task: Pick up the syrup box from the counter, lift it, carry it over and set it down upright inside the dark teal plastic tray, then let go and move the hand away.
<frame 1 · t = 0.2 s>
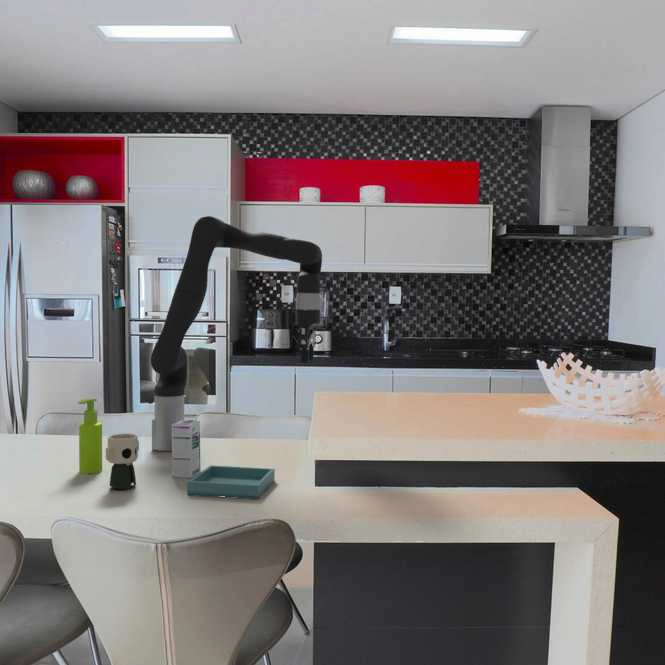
hand: (307, 361, 191), 29 cm above the table, tool pointing down, fingers open, 8 cm apart
teal tray: (232, 487, 157), on the table
character mug: (122, 488, 157), on the table
soap dispenser: (89, 472, 171), on the table
syrup box: (186, 475, 169), on the table
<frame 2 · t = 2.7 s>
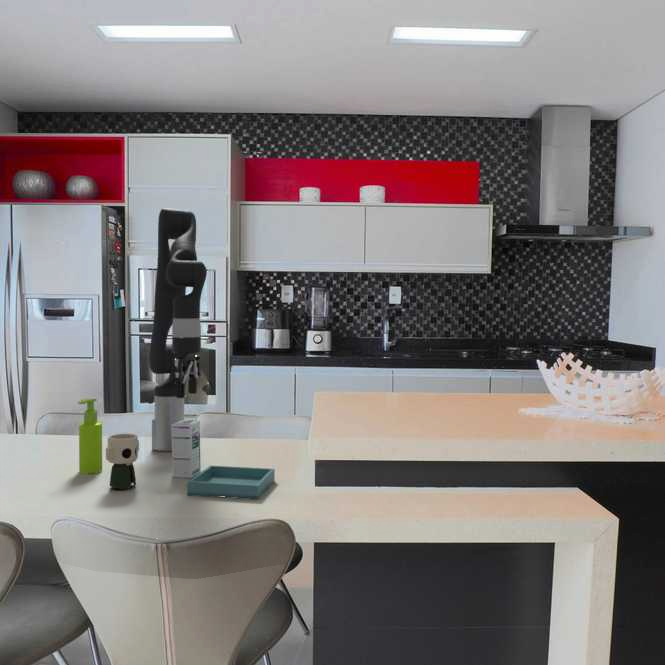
hand: (186, 395, 168), 22 cm above the table, tool pointing down, fingers open, 8 cm apart
nothing on the table moved.
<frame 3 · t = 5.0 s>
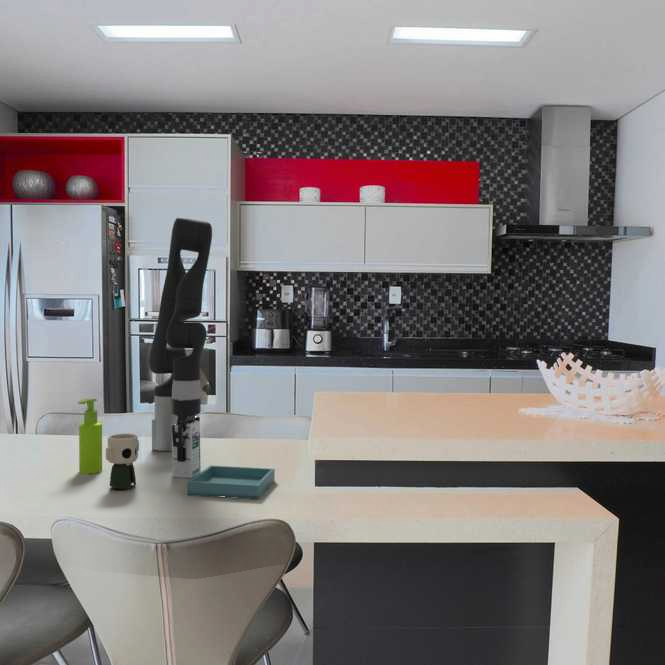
hand: (186, 458, 169), 5 cm above the table, tool pointing down, fingers closed on syrup box, 5 cm apart
syrup box: (186, 475, 169), on the table, touching gripper
everything else where it was.
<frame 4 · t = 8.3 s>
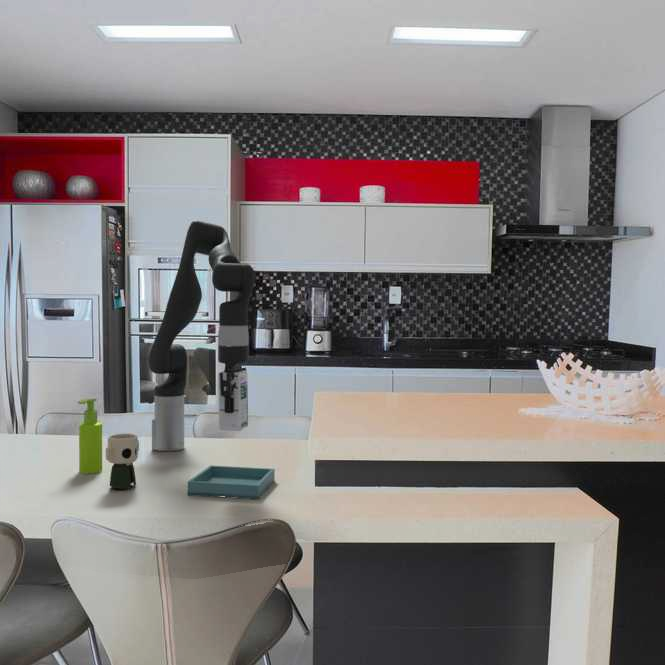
hand: (233, 410, 157), 20 cm above the table, tool pointing down, fingers closed on syrup box, 5 cm apart
syrup box: (233, 429, 157), point 15 cm above the table, touching gripper
everything else where it was.
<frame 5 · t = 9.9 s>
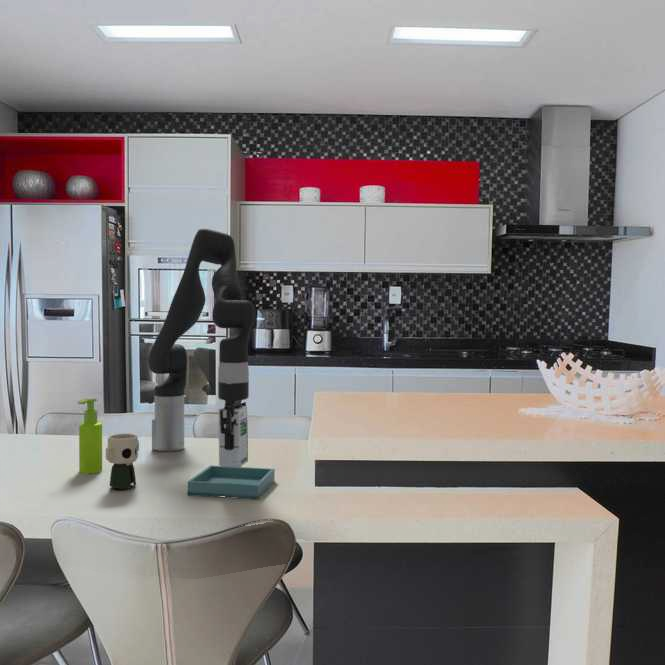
hand: (233, 446, 157), 11 cm above the table, tool pointing down, fingers closed on syrup box, 5 cm apart
syrup box: (233, 464, 157), point 6 cm above the table, touching gripper
everything else where it was.
when the fingers open (7 cm above the table, at t = 11.5 s): syrup box drops 2 cm, resting on teal tray.
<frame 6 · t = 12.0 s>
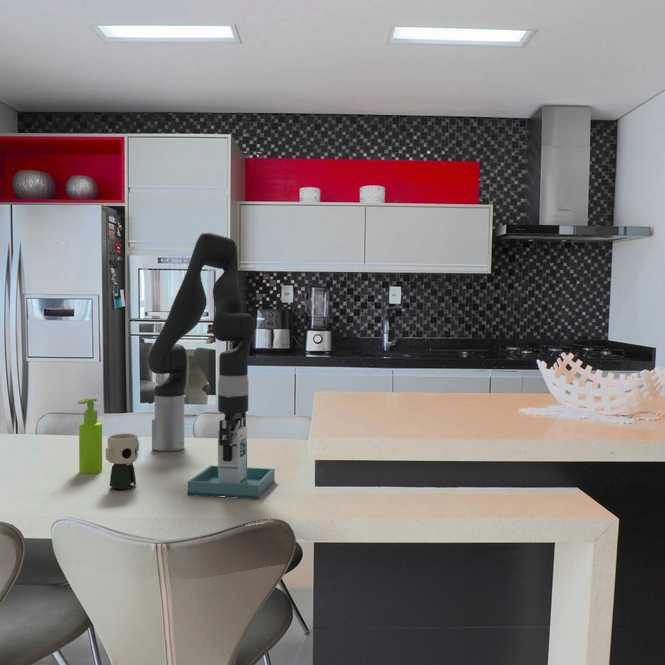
hand: (233, 456, 157), 8 cm above the table, tool pointing down, fingers open, 8 cm apart
syrup box: (232, 485, 157), point 1 cm above the table, touching teal tray
everything else where it was.
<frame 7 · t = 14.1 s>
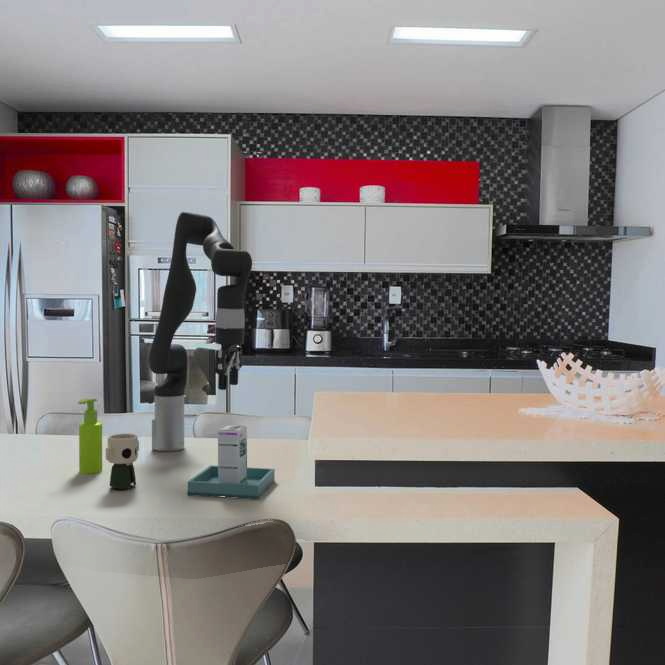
hand: (228, 387, 165), 24 cm above the table, tool pointing down, fingers open, 8 cm apart
nothing on the table moved.
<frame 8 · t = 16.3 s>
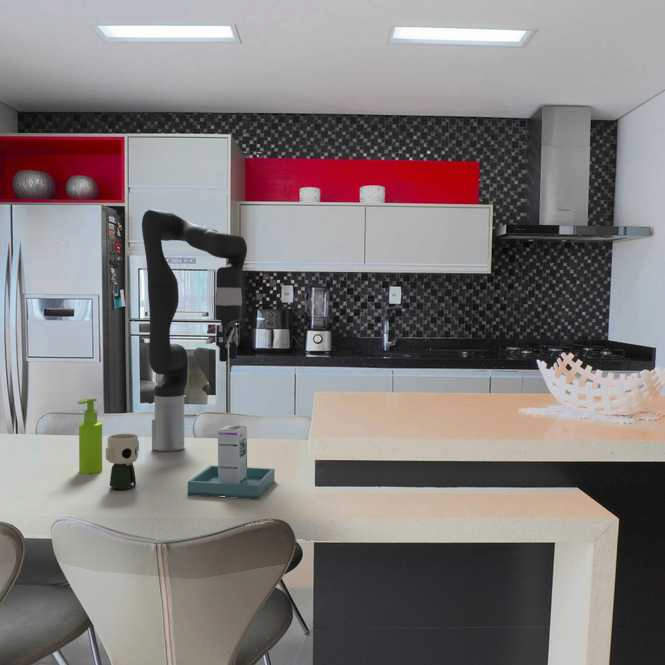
hand: (228, 360, 180), 30 cm above the table, tool pointing down, fingers open, 8 cm apart
nothing on the table moved.
at the end: syrup box inside the target area on the teal tray (0.1 cm from its centre), point 0.6 cm above the teal tray's base; syrup box tilted 0°; the gripper is holding nothing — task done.
